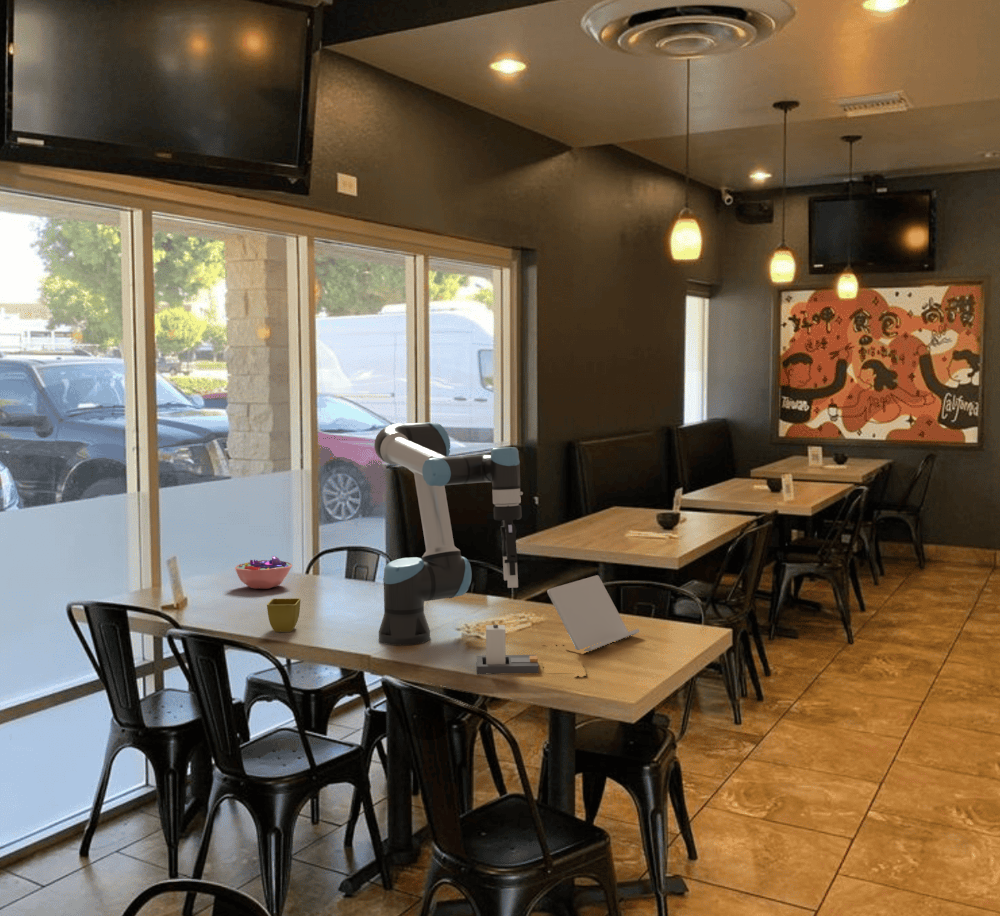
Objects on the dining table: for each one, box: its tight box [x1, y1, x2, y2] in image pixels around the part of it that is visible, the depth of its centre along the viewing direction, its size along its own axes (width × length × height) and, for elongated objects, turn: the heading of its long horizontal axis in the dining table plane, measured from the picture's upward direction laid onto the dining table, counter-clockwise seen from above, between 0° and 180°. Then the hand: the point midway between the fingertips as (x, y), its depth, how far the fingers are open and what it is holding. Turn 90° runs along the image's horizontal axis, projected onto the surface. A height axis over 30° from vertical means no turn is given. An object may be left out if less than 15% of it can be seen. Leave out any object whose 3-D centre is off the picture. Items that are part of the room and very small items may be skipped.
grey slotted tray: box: [476, 654, 540, 675], centre depth 279 cm, size 16×10×4 cm, turn 92°
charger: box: [485, 624, 506, 664], centre depth 279 cm, size 5×4×12 cm
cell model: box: [234, 555, 293, 590], centre depth 378 cm, size 17×20×11 cm
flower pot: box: [266, 597, 301, 633], centre depth 321 cm, size 9×9×9 cm
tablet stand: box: [546, 574, 641, 652], centre depth 307 cm, size 18×25×17 cm
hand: (510, 583), depth 284 cm, fingers open, 13 cm apart
